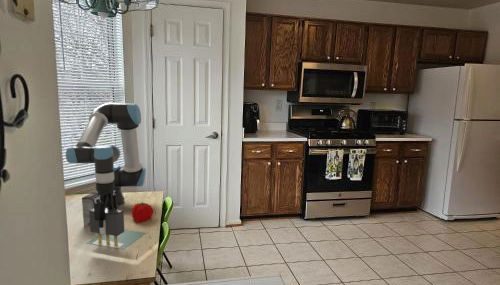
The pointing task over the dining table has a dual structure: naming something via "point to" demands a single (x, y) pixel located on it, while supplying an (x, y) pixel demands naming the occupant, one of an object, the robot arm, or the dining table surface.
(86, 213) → the coffee box
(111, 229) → the housing
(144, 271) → the dining table surface
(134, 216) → the tomato
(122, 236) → the board
